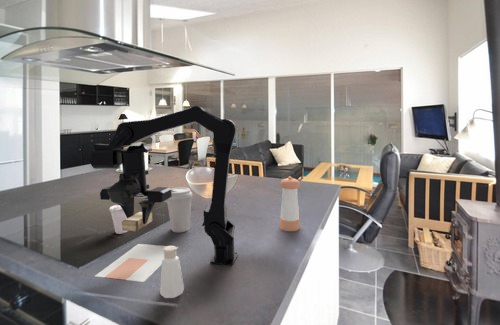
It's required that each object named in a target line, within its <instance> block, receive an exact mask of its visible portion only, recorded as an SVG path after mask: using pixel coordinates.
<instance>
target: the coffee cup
mask: <svg viewBox="0 0 500 325" xmlns="http://www.w3.org/2000/svg"><path fill="white" fill-rule="evenodd" d="M169 189H170V190H171V194H172V197H170V198H169V199H167V200H166V204H167V209H168V216H169V221H170V229H171V232H173V233H184V232H188V231H189V230H190V229H191V212H192V210H191V209H192V208H191V207H192V206H191V205H192V196H194V194H193V192H192V191H191V188H190V187H185V186H183V187H182V186H181V187H174V188H173V187H172V188H169Z"/></svg>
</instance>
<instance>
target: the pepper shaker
mask: <svg viewBox="0 0 500 325" xmlns="http://www.w3.org/2000/svg"><path fill="white" fill-rule="evenodd" d="M166 246H167V247H165V248H164V249H163V251H164V258H163V260H162V265H161V270H160V272H161V274H160V291H159V293H160V294H159V295H161V296H162V297H163V298H164V299H175V298H176V297H178V296H181V295H182V294H183V293H184V289H185V285H184V278H183V274H182V273H183V272H182V268H181V262H180V257H179V256H178V255H177V250H176V247H177V246H175V245H166Z"/></svg>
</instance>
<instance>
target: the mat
mask: <svg viewBox="0 0 500 325" xmlns="http://www.w3.org/2000/svg"><path fill="white" fill-rule="evenodd" d="M167 246H168V245H155V244H146V243H137V244H136V245H135V246H133V247H132V248H131V249H129V250H128V251H126V252H125V253H124V254H123V255H122V256H120V257H118V258H117V259H116V260H114V261H113V262H111V263H110V264H109V265H107V266H106V267H105V268H104V269H102V270H101V271H100V272H98V273H97V274H95V275H94V277H97V278H105V279H116V280H123V281H133V282H139V283H140V282H141V283H144V282H146V281H147V280H148V279H149V278H150V277H151V275H152V274H154V273H155V272H156V270H157V269H159V268H160V267H162V260H163V258H164V251H163V249H164V248H165V247H167ZM175 247H176V251H177V249H179V248H180V247H179V246H175Z"/></svg>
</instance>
